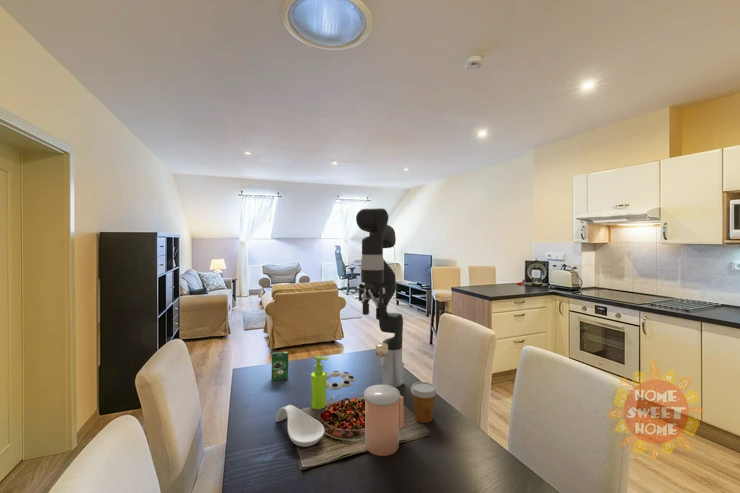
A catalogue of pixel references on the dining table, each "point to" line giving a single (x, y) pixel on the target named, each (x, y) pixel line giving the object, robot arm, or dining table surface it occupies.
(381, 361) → the plunger
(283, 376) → the coffee box
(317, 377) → the soap dispenser
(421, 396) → the disposable coffee cup
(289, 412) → the spoon rest
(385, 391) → the press pot
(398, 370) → the robot arm
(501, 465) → the dining table surface
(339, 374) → the paint palette
